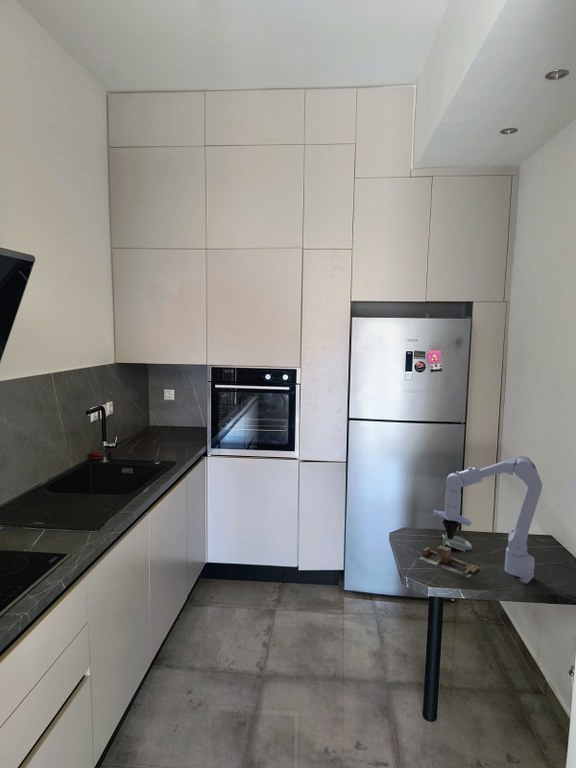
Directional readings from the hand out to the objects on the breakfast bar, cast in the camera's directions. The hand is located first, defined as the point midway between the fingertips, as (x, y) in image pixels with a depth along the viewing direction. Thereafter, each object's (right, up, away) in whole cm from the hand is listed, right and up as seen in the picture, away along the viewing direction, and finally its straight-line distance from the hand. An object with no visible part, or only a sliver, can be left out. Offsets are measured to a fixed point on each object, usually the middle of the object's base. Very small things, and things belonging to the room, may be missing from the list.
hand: (450, 538), depth 188 cm
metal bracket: (+8, -9, +13) cm, 18 cm away
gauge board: (-2, -10, -4) cm, 11 cm away
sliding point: (-4, -8, -2) cm, 10 cm away
